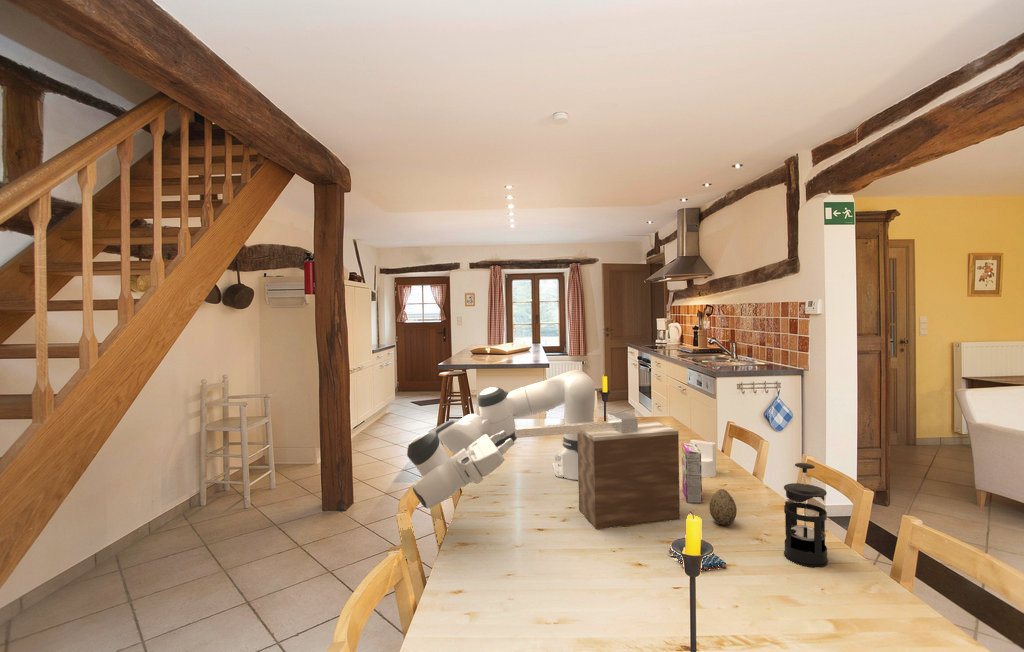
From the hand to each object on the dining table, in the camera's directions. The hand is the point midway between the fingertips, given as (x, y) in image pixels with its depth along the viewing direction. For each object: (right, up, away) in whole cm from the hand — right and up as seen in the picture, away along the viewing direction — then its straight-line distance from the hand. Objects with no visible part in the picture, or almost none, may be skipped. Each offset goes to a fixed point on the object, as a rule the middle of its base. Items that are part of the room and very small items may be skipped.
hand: (509, 436), depth 142 cm
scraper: (+19, 0, +5) cm, 20 cm away
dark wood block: (+36, -25, +9) cm, 45 cm away
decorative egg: (+61, -25, +1) cm, 66 cm away
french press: (+72, -25, -19) cm, 79 cm away
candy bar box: (+59, -25, +22) cm, 68 cm away
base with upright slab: (+72, -24, +45) cm, 88 cm away
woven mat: (+46, -27, -20) cm, 56 cm away
